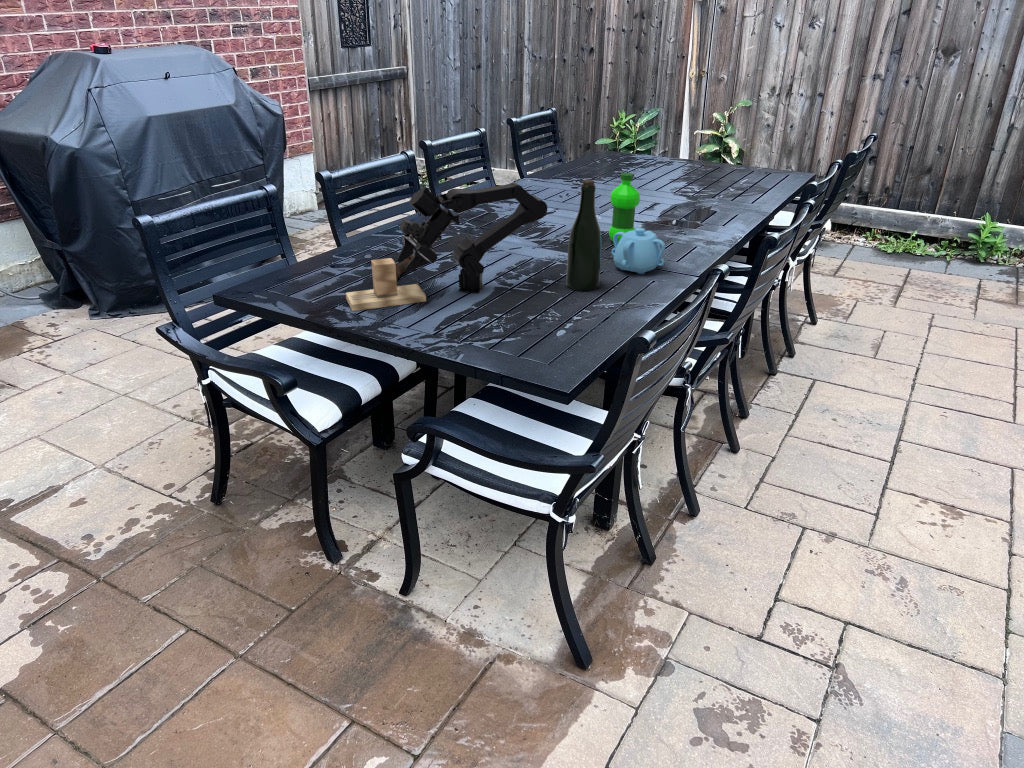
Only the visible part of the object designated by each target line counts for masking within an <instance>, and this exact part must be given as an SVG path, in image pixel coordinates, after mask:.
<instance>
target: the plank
mask: <svg viewBox="0 0 1024 768" xmlns="http://www.w3.org/2000/svg"><path fill="white" fill-rule="evenodd" d="M345 299H346V301H347V303H348V305H349V307H350V309H351V312H356V311H357V312H358V311H364V310H371V309H378V308H379V309H380V308H386V307H387V308H388V307H394V306H395V307H396V306H400V305H401V306H402V305H408V304H417V303H423V302H427V296H426V293H425V292H424V291H423V290H422V288H421V287H420V285H419V284H418V283H411V284H405V285H397V296H389V297H382V298H377V296H376V295H375V293H374V288H373V289H364V290H356V291H348V292H345Z"/></svg>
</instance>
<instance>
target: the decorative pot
mask: <svg viewBox="0 0 1024 768" xmlns="http://www.w3.org/2000/svg"><path fill="white" fill-rule="evenodd" d="M634 229H635V230H632V231H628V232H626V233H624V232H618V233H616V234H615V235H614V237H613V241H612V242H613V246H614V247H613V248H612V249H611V252H610V253H611V255H612V256H613V262H614V264H615V266H616V268H618V269H619V270H621V271H628V272H633V273H636V274H638V275H644V274H645V273H646V272H647V273H648V272H651V271H653V270H655V269H656V268H657V267H663V266H665V264H666V260H665V259H664V258H663V256H664V254H665V250H666V243H665V241H664V240H661V239H659V238H658V236H657V234H656V233H654V232H653V231H652V230H646V229H645V228H643V227H636V228H634ZM618 235H622V237H621V239H620V241H619V243H618V241H617V237H618Z"/></svg>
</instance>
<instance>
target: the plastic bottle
mask: <svg viewBox="0 0 1024 768" xmlns="http://www.w3.org/2000/svg"><path fill="white" fill-rule="evenodd" d="M620 180H621V184H619V185H618V186H616V187H615V188H614V189H613V190H612V191H611V193H610V196H609V197H610V203H611V204H612V206H613V207H612V218H611V219H612V220H611V222H612V223H611V225H610V226H609V228H608V236H609V238H610V240H611V242H613V237H614V235H615V234H616V233H618V232H624V233H626V232H628V231H632V230H635V229H636V228H635V226H634V225H635V215H636V214H635V213H636V208H637V207H638V206H639V203H640V200H641V196H640V193H639V191H638V190H637V188H635V186H634V185H632V181H633V180H634V174H633V173H631V172H630V173H629V172H622V173H621V174H620ZM621 237H622V235H618V237H617V241H618V243H619V241H620V239H621Z"/></svg>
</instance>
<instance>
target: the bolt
mask: <svg viewBox="0 0 1024 768" xmlns="http://www.w3.org/2000/svg"><path fill="white" fill-rule="evenodd" d="M412 257H413V255H411V256H410V257H408V258H407V259H405V260H404V261H402V262H400V263H398V262H397V263H396V264H395V266H396V280H399V278H400V276H401V274H403V273H406V272H405V271H404V270H405V268H406V266H407V265H408V263H409V262H410V260H411V258H412Z"/></svg>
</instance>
